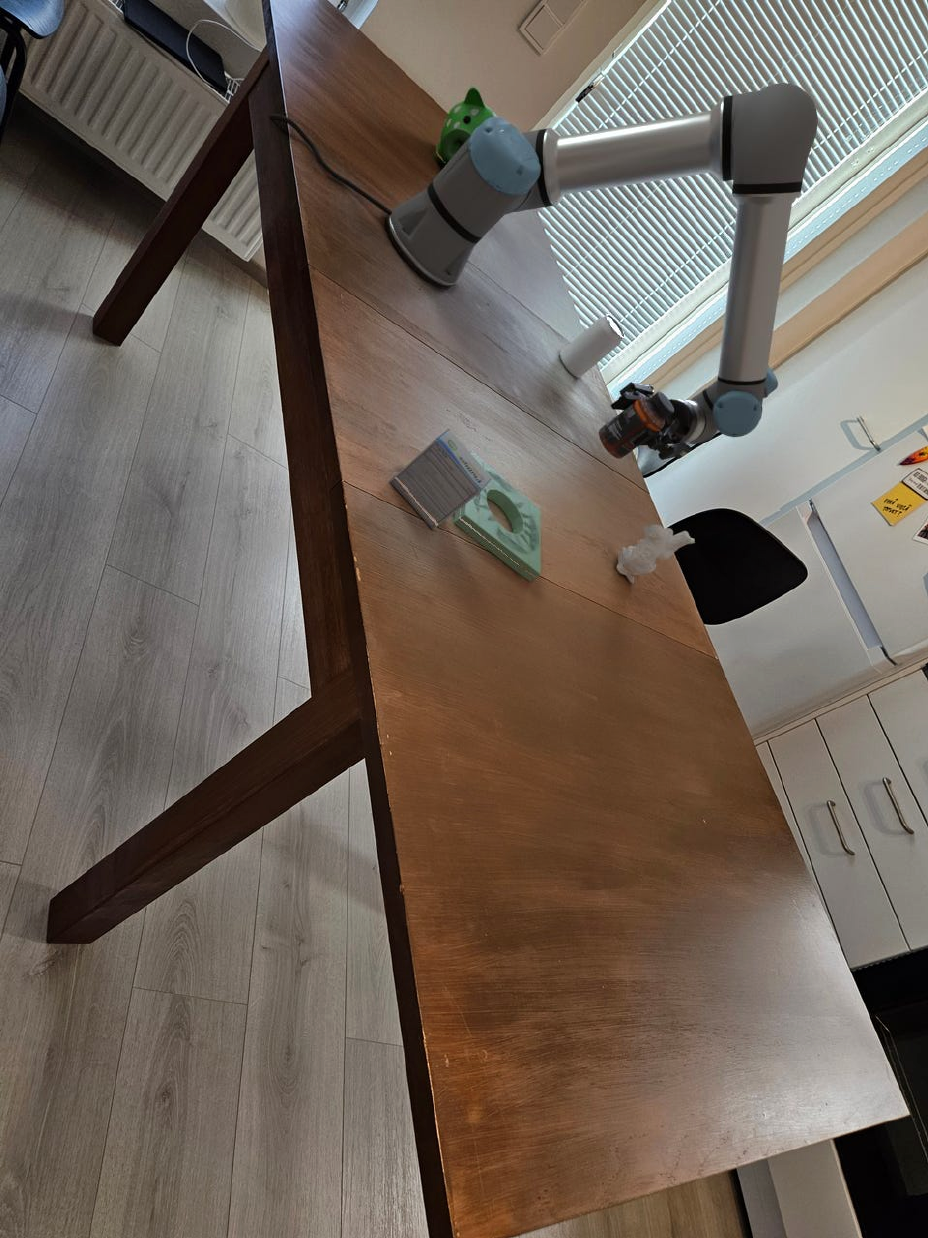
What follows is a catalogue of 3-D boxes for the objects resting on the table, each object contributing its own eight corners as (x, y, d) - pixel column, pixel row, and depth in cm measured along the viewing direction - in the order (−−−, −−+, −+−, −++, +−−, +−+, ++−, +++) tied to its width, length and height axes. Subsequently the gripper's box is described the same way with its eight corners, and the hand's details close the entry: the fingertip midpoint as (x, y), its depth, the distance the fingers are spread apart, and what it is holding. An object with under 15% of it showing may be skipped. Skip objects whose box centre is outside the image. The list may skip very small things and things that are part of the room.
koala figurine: (633, 564, 135) (693, 526, 129) (642, 595, 132) (704, 558, 125) (602, 544, 130) (663, 503, 124) (611, 576, 126) (674, 536, 120)
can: (572, 379, 160) (620, 339, 153) (554, 352, 160) (601, 311, 153) (583, 377, 165) (629, 339, 159) (565, 351, 165) (611, 312, 159)
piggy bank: (417, 150, 161) (468, 87, 153) (432, 131, 174) (480, 73, 166) (467, 205, 167) (519, 148, 158) (478, 183, 180) (527, 129, 172)
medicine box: (444, 518, 100) (493, 478, 95) (431, 532, 96) (482, 491, 91) (402, 469, 98) (450, 426, 93) (388, 481, 94) (436, 437, 90)
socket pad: (453, 523, 100) (464, 514, 99) (461, 458, 110) (471, 450, 109) (530, 582, 107) (541, 574, 106) (530, 516, 117) (540, 509, 116)
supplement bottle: (624, 459, 131) (682, 417, 125) (611, 461, 126) (671, 418, 120) (605, 428, 131) (662, 385, 125) (592, 430, 126) (650, 385, 120)
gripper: (687, 479, 141) (641, 486, 122) (631, 390, 143) (578, 383, 124) (724, 454, 137) (683, 458, 118) (666, 363, 139) (617, 352, 120)
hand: (629, 420), depth 121 cm, fingers closed on supplement bottle, 6 cm apart
